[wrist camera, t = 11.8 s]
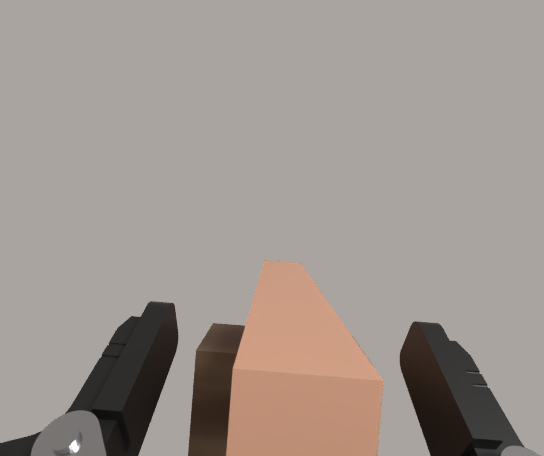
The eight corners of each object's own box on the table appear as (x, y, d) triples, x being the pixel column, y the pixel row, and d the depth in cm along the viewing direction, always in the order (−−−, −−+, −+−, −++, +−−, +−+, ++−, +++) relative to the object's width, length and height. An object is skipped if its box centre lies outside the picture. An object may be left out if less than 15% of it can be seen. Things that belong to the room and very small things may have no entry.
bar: (371, 530, 6) (383, 380, 6) (221, 517, 6) (232, 368, 6) (297, 298, 26) (300, 263, 26) (261, 296, 26) (264, 260, 26)
